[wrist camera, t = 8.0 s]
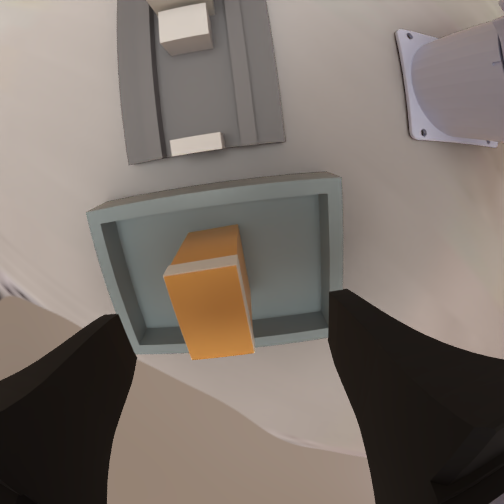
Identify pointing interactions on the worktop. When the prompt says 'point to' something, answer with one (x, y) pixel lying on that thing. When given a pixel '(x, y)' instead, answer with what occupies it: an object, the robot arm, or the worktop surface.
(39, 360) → the robot arm
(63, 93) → the worktop surface
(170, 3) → the cream rectangular block
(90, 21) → the worktop surface
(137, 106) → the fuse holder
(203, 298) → the block
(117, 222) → the slate tray
